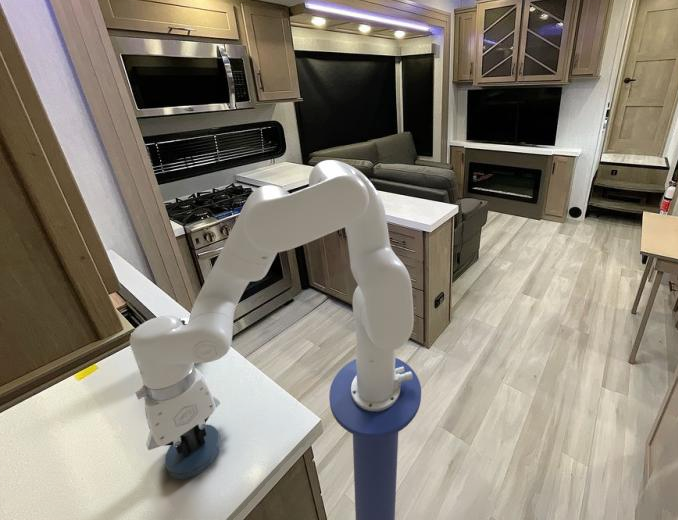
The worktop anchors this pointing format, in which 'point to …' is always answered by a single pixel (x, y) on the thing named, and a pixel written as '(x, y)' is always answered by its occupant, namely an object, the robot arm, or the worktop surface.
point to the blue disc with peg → (193, 454)
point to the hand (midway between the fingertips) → (192, 445)
